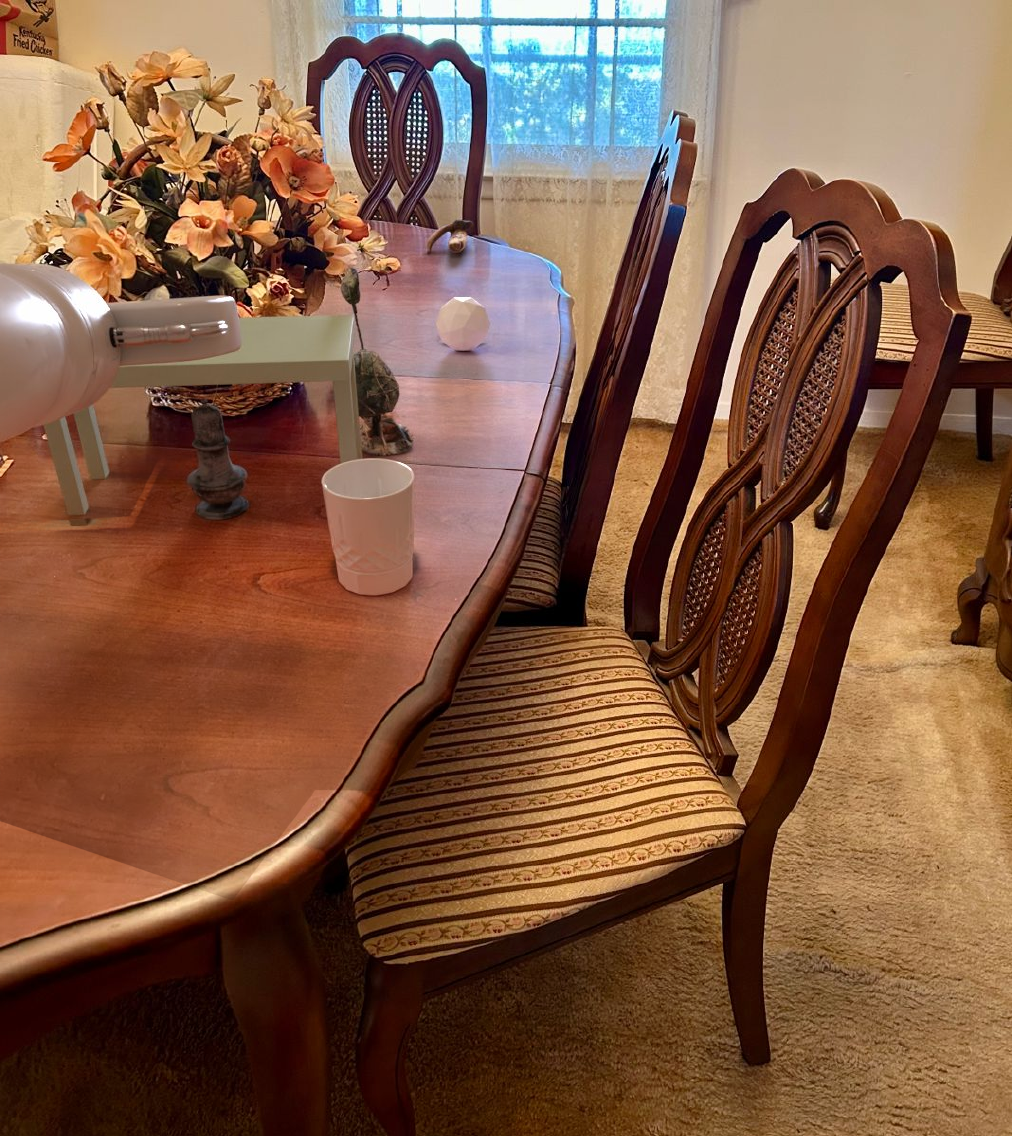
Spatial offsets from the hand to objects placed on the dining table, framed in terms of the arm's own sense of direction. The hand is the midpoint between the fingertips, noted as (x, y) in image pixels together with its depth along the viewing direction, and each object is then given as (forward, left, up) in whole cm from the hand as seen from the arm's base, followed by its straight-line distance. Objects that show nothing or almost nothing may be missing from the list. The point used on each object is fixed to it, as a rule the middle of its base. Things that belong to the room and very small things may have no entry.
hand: (115, 327), depth 67 cm
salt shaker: (+1, +19, -25) cm, 31 cm away
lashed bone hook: (+30, +132, -25) cm, 137 cm away
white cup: (+17, +4, -25) cm, 30 cm away
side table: (+1, +21, -25) cm, 32 cm away
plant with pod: (+17, +33, -25) cm, 45 cm away
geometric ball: (+29, +67, -25) cm, 77 cm away
